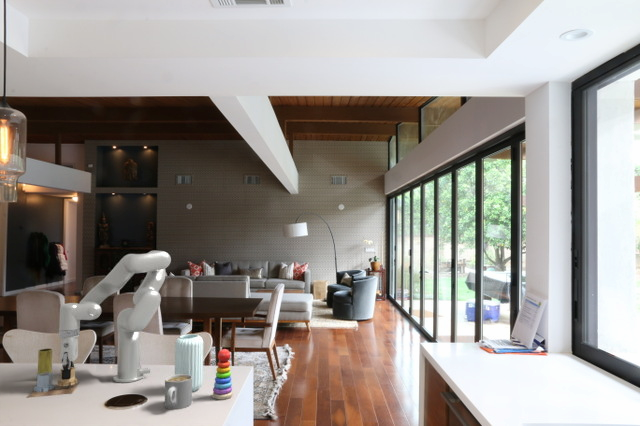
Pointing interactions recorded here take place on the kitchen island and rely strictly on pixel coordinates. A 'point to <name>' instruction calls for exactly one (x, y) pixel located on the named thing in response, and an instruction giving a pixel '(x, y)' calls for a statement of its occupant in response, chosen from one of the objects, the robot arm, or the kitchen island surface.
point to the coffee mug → (178, 391)
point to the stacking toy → (223, 377)
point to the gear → (44, 383)
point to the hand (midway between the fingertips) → (67, 376)
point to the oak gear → (68, 381)
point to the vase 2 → (190, 358)
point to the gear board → (54, 390)
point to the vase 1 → (44, 361)
